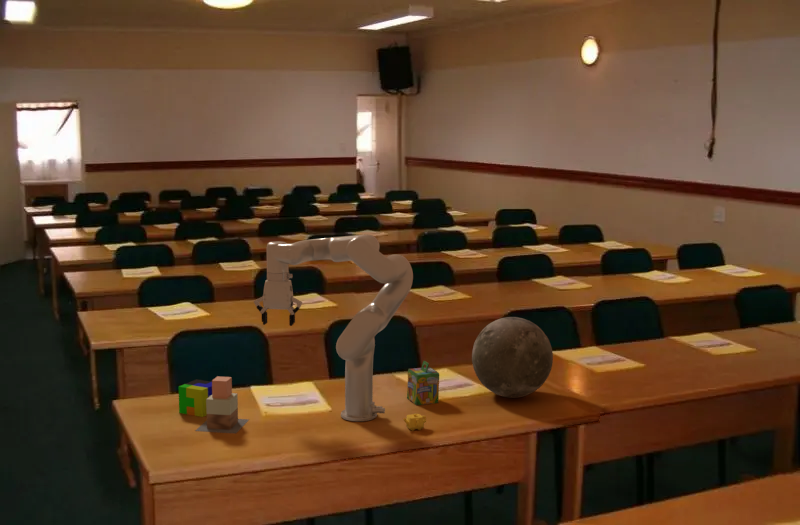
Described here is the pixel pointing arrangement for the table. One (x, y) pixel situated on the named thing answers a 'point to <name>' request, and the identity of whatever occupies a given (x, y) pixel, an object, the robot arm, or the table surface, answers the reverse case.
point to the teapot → (415, 421)
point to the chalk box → (423, 385)
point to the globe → (512, 357)
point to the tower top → (222, 405)
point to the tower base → (222, 420)
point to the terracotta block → (222, 387)
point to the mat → (233, 430)
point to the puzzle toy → (194, 397)
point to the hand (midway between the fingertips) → (278, 324)
